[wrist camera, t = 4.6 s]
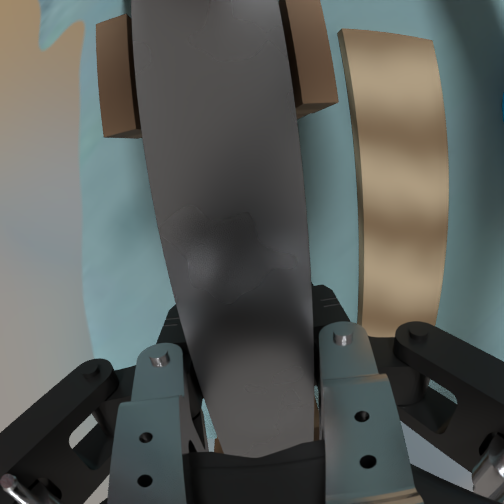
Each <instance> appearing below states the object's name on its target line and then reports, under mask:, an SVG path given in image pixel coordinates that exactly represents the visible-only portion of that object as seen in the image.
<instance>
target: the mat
mask: <svg viewBox="0 0 504 504" xmlns="http://www.w3.org/2000/svg"><path fill="white" fill-rule="evenodd" d="M337 34H338V39H339V44H340V50H341V55H342V61H343V66H344V72H345V79H346V85H347V92H348V99H349V107H350V115H351V123H352V132H353V142H354V153H355V165H356V179H357V196H358V221H359V296H358V320H357V324H359V325H361V326H362V327H363V328H364V329H365V330H366V332H367V334H368V336H371V337H395V332H396V330H397V328H398V327H399V326H400V325H402V324H404V323H407V322H412V321H421V322H426V323H429V324H431V325H433V326H435V323H436V318H437V313H438V307H439V301H440V295H441V288H442V281H443V273H444V265H445V255H446V244H447V230H448V208H449V166H448V144H447V131H446V120H445V111H444V102H443V95H442V88H441V82H440V76H439V70H438V65H437V60H436V55H435V50H434V46H433V41H432V40H428V39H423V38H417V37H412V36H406V35H400V34H393V33H386V32H378V31H368V30H357V29H341V30H340V31H339V32H338V33H337Z"/></svg>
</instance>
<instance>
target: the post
mask: <svg viewBox="0 0 504 504" xmlns="http://www.w3.org/2000/svg"><path fill="white" fill-rule="evenodd" d="M279 9H280V14H281V20H282V25H283V31H284V37H285V43H286V48H287V55H288V61H289V67H290V74H291V80H292V87H293V94H294V102H295V109H296V117H297V119H299V118H301V117H303V116H305V115H308V114H310V113H315V112H317V111H320V110H322V109H324V108H326V107H329V106H331V105H334V104H336V103H338V94H337V87H336V81H335V74H334V68H333V62H332V57H331V51H330V46H329V40H328V35H327V30H326V25H325V21H324V16H323V11H322V7H321V3H320V0H279ZM96 52H97V72H98V87H99V98H100V109H101V118H102V126H103V134H104V137H106V138H136V139H138V138H142V130H141V123H140V115H139V107H138V98H137V88H136V78H135V67H134V54H133V38H132V19H131V18H130V17H129V16H128V15H127V14H124V15H121V16H118V17H115V18H112V19H109V20H106V21H104V22H101V23H98V24H96Z"/></svg>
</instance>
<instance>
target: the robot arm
mask: <svg viewBox="0 0 504 504" xmlns="http://www.w3.org/2000/svg"><path fill="white" fill-rule="evenodd" d="M311 287H312V309H313V340H314V386H317V387H318V390H319V440H317V441H311V442H305V443H301V444H298V445H295V446H293V447H290V448H287V449H284V450H281V451H278V452H275V453H272V454H269V455H266V456H263V457H259V458H250V457H242V456H235V455H228V454H222V453H216V452H209V450H208V443H207V436H206V429H205V422H204V415H203V411H202V409H201V406H202V399H203V398H204V397H203V394H202V391H201V388H200V384H199V381H198V378H197V375H196V372H195V369H194V365H193V362H192V359H191V356H190V352H189V349H188V346H187V342H186V339H185V335H184V332H183V328H182V324H181V321H180V317H179V313H178V310H177V306H176V305H174V306H173V307H172V308H171V309H170V310H169V312H168V315H167V317H166V320H165V322H164V326H163V327H162V330H161V333H160V335H159V338H158V340H157V343H156V344H155V345H152V346H150V347H148V348H146V349H145V350H143V351H142V352H141V353H140V355H139V356H138V358H137V363H136V365H135V366H132V367H128V368H124V369H120V370H115V371H114V369H113V367H112V364H111V363H110V362H109V361H108V360H105V359H92V360H89V361H86V362H84V363H82V364H81V365H79V366H78V367H77V368H76V369H74V370H73V371H72V372H71V373H70V374H68V375H67V376H66V377H65V378H64V379H62V380H61V381H60V382H59V383H58V384H57V385H55V386H54V387H53V388H52V389H51V390H49V391H48V393H46V394H45V395H44V396H42V397H41V398H40V399H39V400H38V401H37V402H36V403H34V404H33V405H32V406H31V407H30V408H28V409H27V410H26V411H25V412H24V413H23V414H21V415H20V416H19V417H18V418H17V419H16V420H15V421H13V422H12V423H11V424H10V425H9V426H8V427H6V428H5V429H4V430H3V431H2V432H1V433H0V504H83V503H84V502H85V501H86V500H87V499H88V497H90V495H91V494H92V493H93V492H94V491H95V490H96V489H97V487H98V486H99V485H100V484H101V483H102V482H103V481H104V480H105V478H106V477H107V476H108V475H109V474H110V476H109V487H108V498H106V499H105V500H104V501H102V502H101V503H100V504H504V362H503V361H501V360H499V359H498V358H496V357H494V356H492V355H490V354H488V353H486V352H484V351H482V350H480V349H478V348H476V347H474V346H472V345H470V344H469V343H467V342H465V341H463V340H461V339H459V338H457V337H455V336H453V335H451V334H449V333H447V332H445V331H443V330H441V329H439V328H437V327H435V326H433V325H431V324H429V323H426V322H421V321H412V322H407V323H404V324H402V325H400V326H399V327H398V328H397V330H396V332H395V337H371V336H368V334H367V332H366V330H365V329H364V328H363V327H362V326H361V325H359V324H356V323H353V322H350V320H349V318H348V316H347V315H346V313H345V311H344V309H343V308H342V306H341V304H340V303H339V301H338V299H336V296H335V294H334V293H333V291H332V290H331V289H330V288H328V287H326V286H324V285H317V286H313V284H312V282H311ZM430 379H431V380H433V381H435V382H436V383H438V384H439V385H441V386H442V387H444V388H446V389H447V390H449V391H450V392H452V393H453V394H454V395H455V397H456V399H457V404H456V403H454V402H452V401H451V400H449V399H448V398H446V397H445V396H443V395H442V394H440V393H438V392H437V391H435V390H434V389H432V388H431V387H429V386H428V385H429V381H430ZM91 413H92V415H93V416H94V418H95V419H96V421H97V422H98V424H97V425H96V426H95V427H94V428H93V429H92V430H91V431H90V432H89V433H88V434H87V435H86V436H85V437H84V438H83V439H82V440H81V441H80V442H79V443H78V444H77V445H76V446H75V447H74V448H73V449H72V448H71V447H70V445H69V437H70V435H71V433H72V432H73V431H74V430H75V429H76V428H77V427H78V426H79V425H80V424H81V423H82V422H83V421H84V420H85V419H86V418H87V417H88V416H89V415H90V414H91ZM400 421H402V422H403V423H404V424H406V425H407V426H409V427H410V428H411V429H412V430H414V431H415V432H416V433H418V434H419V435H420V436H422V437H423V438H424V439H426V440H427V441H428V442H430V443H431V444H432V445H434V446H435V447H436V448H438V449H439V450H440V451H442V452H443V453H444V454H446V455H447V456H449V457H450V458H451V459H453V460H454V461H456V462H457V463H458V464H460V465H461V466H462V467H464V468H465V469H467V470H468V471H470V472H471V473H472V481H473V484H474V485H473V491H474V492H471V491H469V490H467V489H464V488H462V487H459V486H457V485H455V484H453V483H450V482H448V481H446V480H444V479H441V478H439V477H437V476H435V475H433V474H431V473H429V472H427V471H424V470H422V469H420V468H418V467H416V466H414V465H412V464H410V461H409V456H408V452H407V447H406V443H405V439H404V435H403V431H402V426H401V422H400Z"/></svg>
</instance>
